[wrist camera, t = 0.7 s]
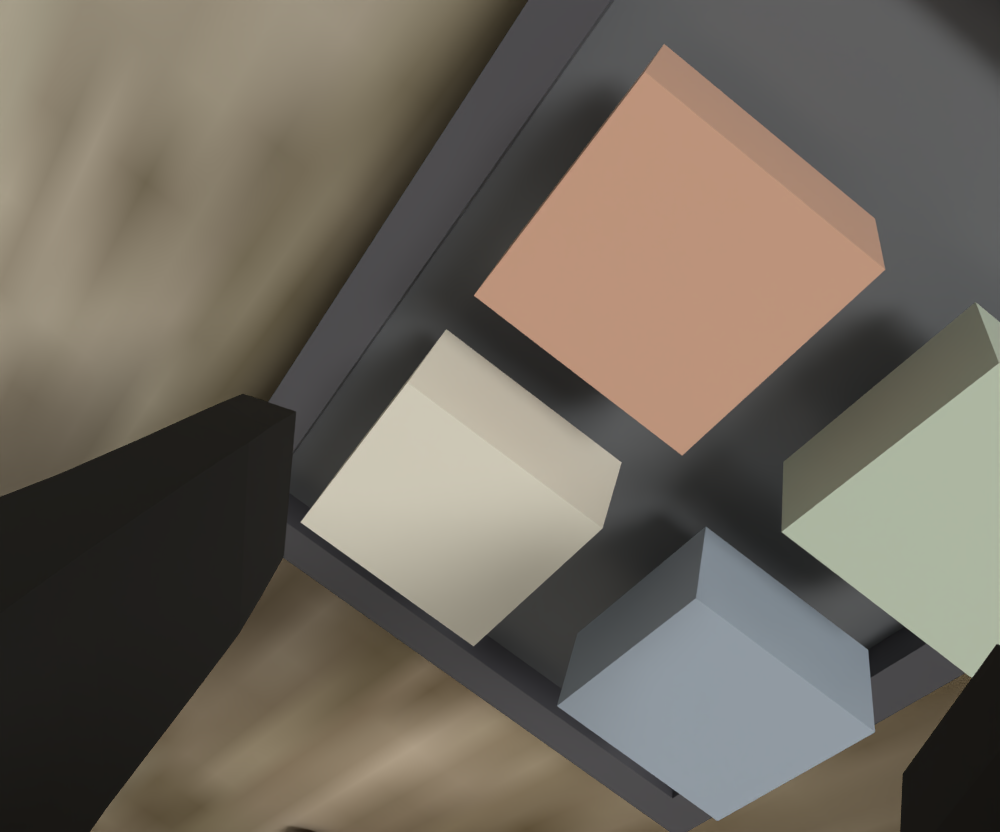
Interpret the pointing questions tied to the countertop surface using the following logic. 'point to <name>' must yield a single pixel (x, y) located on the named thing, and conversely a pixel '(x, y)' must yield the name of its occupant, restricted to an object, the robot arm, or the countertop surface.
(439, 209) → the dark grey tray
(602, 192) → the key terracotta
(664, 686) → the key slate
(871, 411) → the key sage
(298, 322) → the countertop surface
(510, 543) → the key cream
